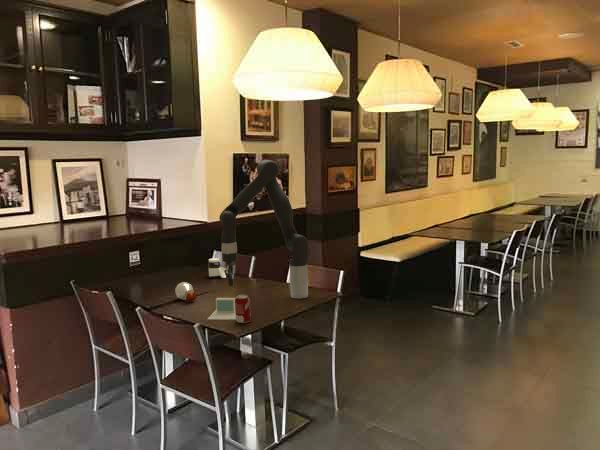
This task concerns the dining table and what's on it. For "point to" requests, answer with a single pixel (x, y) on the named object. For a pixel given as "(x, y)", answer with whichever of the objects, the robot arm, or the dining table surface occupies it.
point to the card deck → (225, 304)
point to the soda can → (242, 309)
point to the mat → (222, 316)
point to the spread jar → (216, 268)
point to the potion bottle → (185, 292)
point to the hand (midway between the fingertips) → (231, 285)
